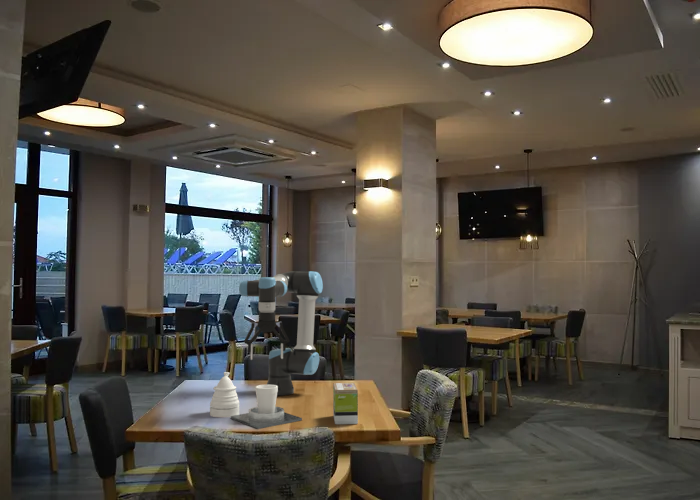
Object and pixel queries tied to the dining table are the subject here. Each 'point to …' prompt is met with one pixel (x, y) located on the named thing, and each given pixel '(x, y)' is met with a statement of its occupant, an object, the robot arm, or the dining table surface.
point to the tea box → (345, 403)
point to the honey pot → (224, 399)
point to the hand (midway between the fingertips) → (266, 358)
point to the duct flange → (265, 418)
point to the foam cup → (266, 398)
